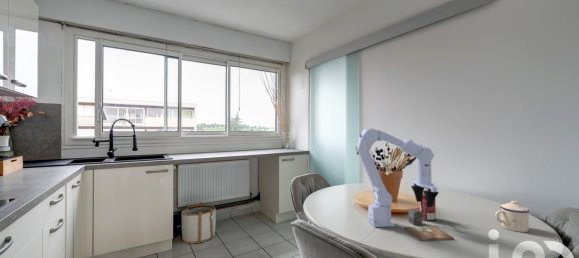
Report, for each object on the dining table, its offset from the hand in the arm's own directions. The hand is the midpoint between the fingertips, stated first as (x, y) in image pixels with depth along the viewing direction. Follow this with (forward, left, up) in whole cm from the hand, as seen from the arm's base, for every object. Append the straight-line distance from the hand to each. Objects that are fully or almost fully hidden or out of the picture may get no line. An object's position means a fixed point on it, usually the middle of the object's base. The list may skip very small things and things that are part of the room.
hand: (424, 204), depth 107 cm
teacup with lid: (+35, -6, -10) cm, 37 cm away
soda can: (+6, +7, -10) cm, 13 cm away
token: (-3, +2, -10) cm, 10 cm away
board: (-5, -9, -9) cm, 14 cm away
